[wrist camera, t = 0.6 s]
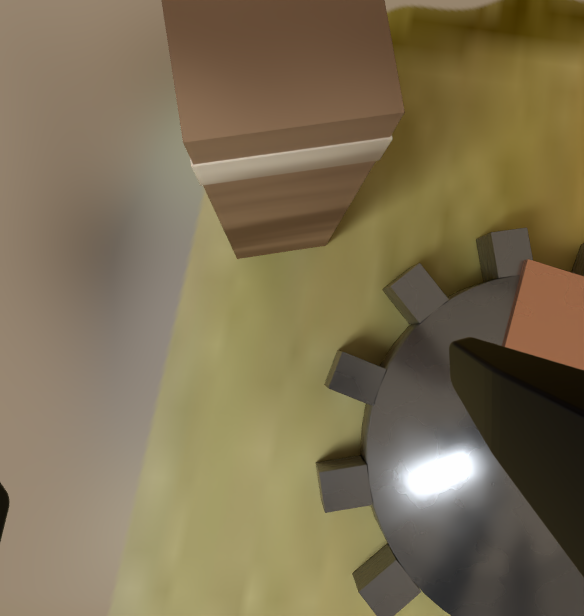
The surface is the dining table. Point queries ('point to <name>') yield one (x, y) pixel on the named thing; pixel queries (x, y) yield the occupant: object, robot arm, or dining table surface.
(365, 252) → the dining table surface
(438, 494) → the sprocket plate
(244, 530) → the dining table surface
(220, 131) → the link block
